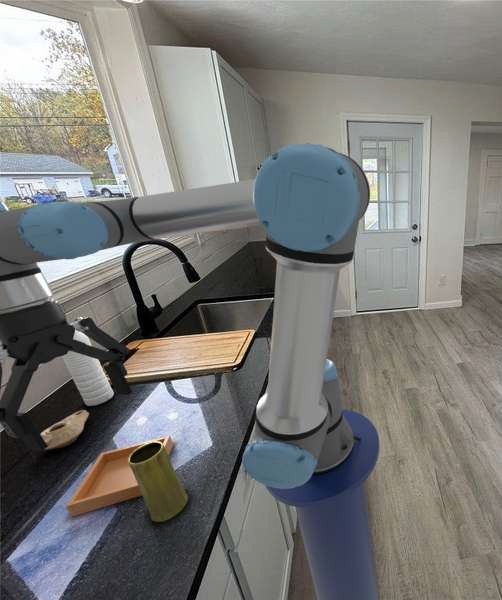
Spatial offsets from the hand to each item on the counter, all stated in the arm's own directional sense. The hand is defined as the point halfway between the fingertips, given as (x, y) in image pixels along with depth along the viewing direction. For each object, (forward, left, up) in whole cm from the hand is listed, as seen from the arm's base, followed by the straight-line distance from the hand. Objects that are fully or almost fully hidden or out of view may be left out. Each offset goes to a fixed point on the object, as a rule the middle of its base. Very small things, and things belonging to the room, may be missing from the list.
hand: (87, 417), depth 55 cm
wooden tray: (+3, -8, -22) cm, 23 cm away
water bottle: (+24, -45, -22) cm, 55 cm away
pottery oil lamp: (+22, -28, -22) cm, 42 cm away
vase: (-8, +4, -22) cm, 23 cm away
